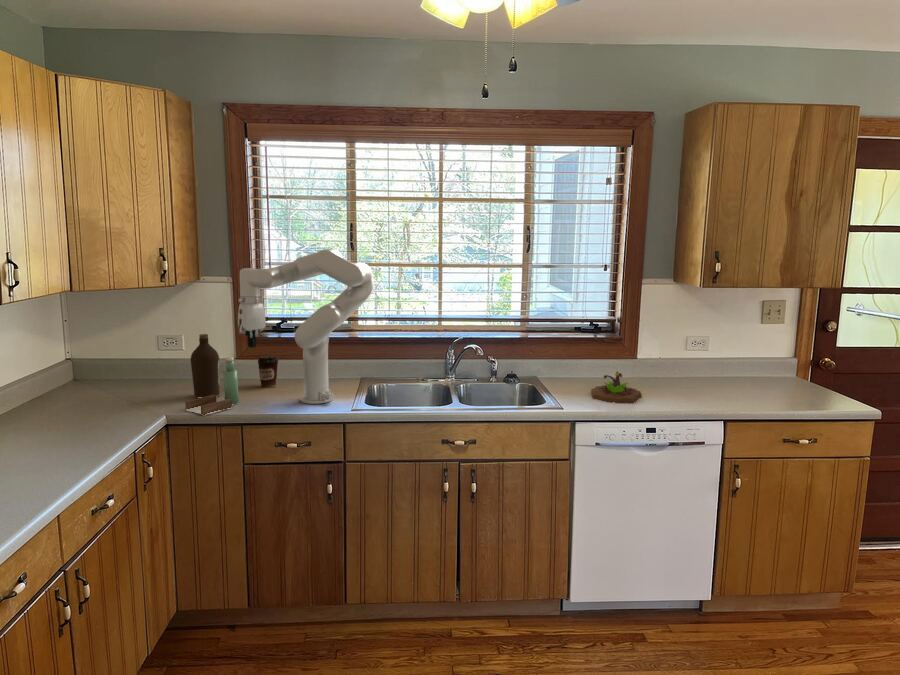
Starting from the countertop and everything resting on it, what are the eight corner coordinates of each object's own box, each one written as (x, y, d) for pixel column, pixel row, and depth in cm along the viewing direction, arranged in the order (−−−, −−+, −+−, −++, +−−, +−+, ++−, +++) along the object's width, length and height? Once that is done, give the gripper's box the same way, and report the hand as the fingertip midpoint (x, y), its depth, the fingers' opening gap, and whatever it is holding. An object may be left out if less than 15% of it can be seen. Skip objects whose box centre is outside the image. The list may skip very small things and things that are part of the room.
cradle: (232, 408, 240) (231, 399, 239) (203, 416, 230) (203, 406, 229) (214, 403, 246) (213, 394, 245) (185, 410, 236) (185, 401, 236)
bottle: (241, 403, 247) (239, 357, 244) (230, 406, 243) (228, 359, 240) (233, 401, 250) (231, 356, 246) (222, 404, 246) (219, 358, 242)
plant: (587, 401, 255) (588, 373, 254) (593, 389, 274) (594, 363, 272) (639, 406, 249) (641, 378, 247) (642, 393, 267) (643, 367, 265)
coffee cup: (275, 389, 268) (274, 358, 266) (256, 388, 269) (254, 358, 266) (281, 384, 277) (280, 354, 275) (262, 383, 277) (261, 354, 275)
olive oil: (198, 401, 249) (194, 338, 245) (189, 395, 257) (185, 334, 253) (225, 396, 256) (221, 335, 251) (215, 391, 264) (212, 331, 259)
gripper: (240, 303, 240) (242, 351, 243) (272, 299, 252) (273, 345, 255) (228, 301, 244) (230, 348, 248) (260, 298, 256) (261, 343, 260)
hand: (252, 346), depth 251 cm, fingers closed
